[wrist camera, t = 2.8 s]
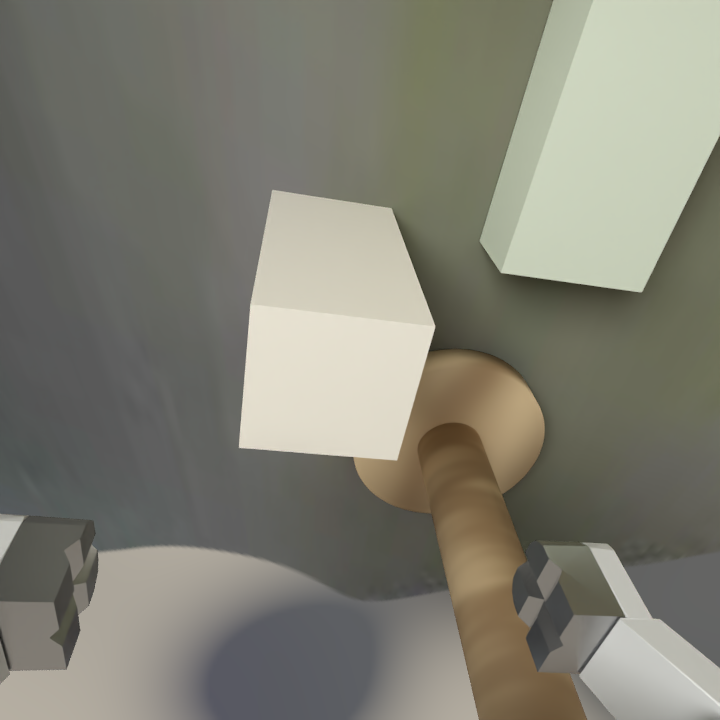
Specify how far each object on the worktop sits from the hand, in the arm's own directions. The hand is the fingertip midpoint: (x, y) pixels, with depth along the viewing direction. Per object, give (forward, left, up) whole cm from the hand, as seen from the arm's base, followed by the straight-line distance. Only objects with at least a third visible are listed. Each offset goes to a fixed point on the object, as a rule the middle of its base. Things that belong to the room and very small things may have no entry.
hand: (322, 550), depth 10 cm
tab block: (0, 0, -14) cm, 14 cm away
